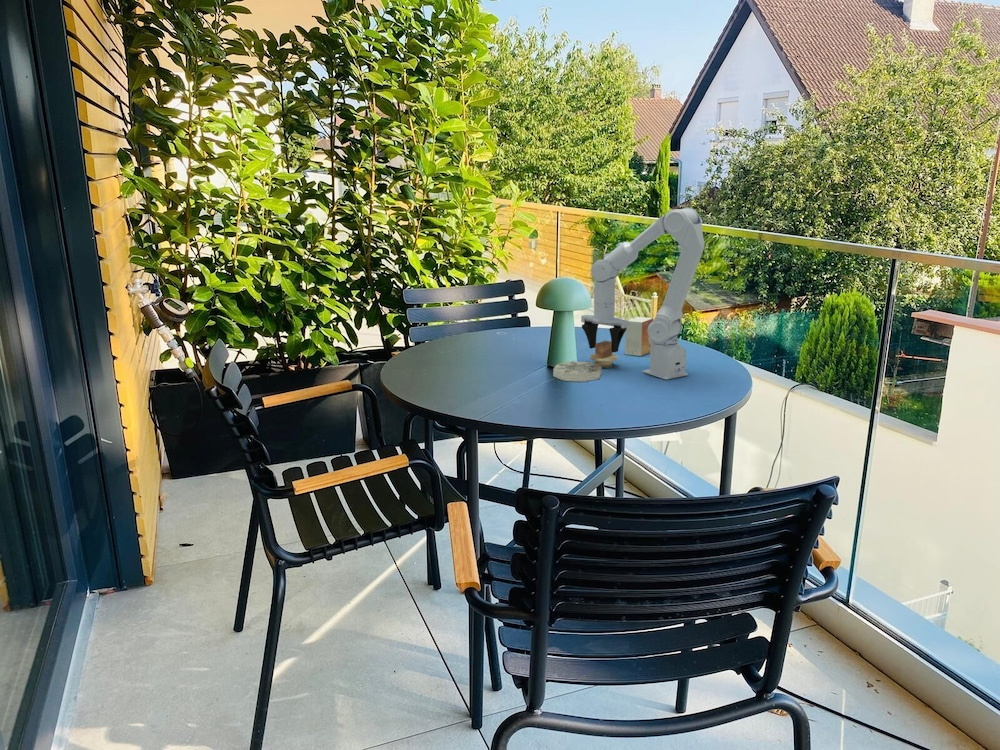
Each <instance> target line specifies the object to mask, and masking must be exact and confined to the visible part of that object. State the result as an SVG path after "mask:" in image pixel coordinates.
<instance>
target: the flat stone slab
mask: <svg viewBox="0 0 1000 750" xmlns="http://www.w3.org/2000/svg"><path fill="white" fill-rule="evenodd" d="M552 370H553V372H552V373H553V374H552V375H553V378H556V379H558V380H561V381H564V382H580V383H584V382H590V381H594V380H599V379H600V378H601V375H602V370H603V368H602V366H600V365H597V364H595V362H594V363H593V362H591V361H575V360H573V361H567V362H562V363H557V364H556V365H555V366H554V367H553V369H552Z"/></svg>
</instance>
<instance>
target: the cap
mask: <svg viewBox="0 0 1000 750" xmlns="http://www.w3.org/2000/svg"><path fill="white" fill-rule="evenodd" d="M594 351H595V352H594V353H593V354H590V355H589V359H590V360H592V361H593V362H594V364H597V365H600V366H602V369H607V368H608V369H609V368H612V367H613V362H614V361H617V360H618V358H619V357H618V355H617V354H614V353H613V352H612V350H611V341H609V340H603V341H599V342H596V344H595V348H594Z"/></svg>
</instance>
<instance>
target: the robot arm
mask: <svg viewBox="0 0 1000 750" xmlns="http://www.w3.org/2000/svg"><path fill="white" fill-rule="evenodd" d="M703 232H704V231H703V220H702V217H701V216H700V214H699V213H698V211H697V210H695V209H694V208H692V207H684V208H680V209H678V208H677V209H670V210H669V211H668V212H667V213H666V214H663V215H662V216H660V217H659V218H658V219H657V220H654V222H653V223H652V224H651V225H649V226H648V227H646V229H645V230H643V231H642V232H641V233H640V234H638V236H636V237H635V238H634V239H633V240H632V241H631V242H630V241H623V242H618V243H617V244H616V245H615V247H616V248H614V249H613V250H612V251H610V252H609V253H605V254H604V255H603V259H599V260H595V261H594V263H593V264H592V266H591V267H590V272H591V273H590V274H591V277H592V278H593V279H594V281H593V282H594V285H593V286H594V287H593V288H594V289H593V293H594V294H593V302H594V303H593V315H591V314H583V315H581V316H580V319H581V320H580V322H581V323H583V324H581V329H583V331H584V334H585V336H586V339H587V342H588V346H589V349H595V344H596V343H597V333H598V327H599V325H603V326H609V327H610V328H609V329H608V330H609V334H610V339H611V350H612V353H617V352H618V351H619V349H620V348H619V347H620V344H621V341H622V338H623V337H624V336H625V331H626V329H627V327H628V320H629V319H627V320H626V319H621V318H619V317H615V314H616V313H615V310H616V309H615V308H616V307H615V303H616V302H615V299H616V298H615V297H616V278H617V277H618V276H619V274H620V272H621V271H623V270H624V269H625V268H627V267H628V266H629V265H631V264H632V263H633V262H635V261H636V260H637V259H638V257H639V256H638V255H639V252H641V250H643V249H645V248H646V247H647V246H648V245H650V244H651V243H652V242H654V241H656V240H657V239H659V238H660V237H661V236H664V235H668V234H669V235H670V236H671V237H672V238H674V239H675V240H676V242H677V243H678V245H679V247H680V248H681V252H680V254H679V256H678V260H677V263H676V265H675V268H674V272H673V274H672V277H671V280H670V282H669V286H668V289H667V291H666V294H665V297H664V300H663V301H662V306H661V307H660V308H659V310H658V311H657V312H656V314H655V317H654V318H653V321H652V322H651V323H650V324H649V326H648V330H647V332H648V336H649V338H650V339H651V348H650V352H649V353H650V355H649V356H650V357H649V368H648V369H644V370H642V373H645V374H648V375H651V376H653V377H657V378H660V379H663V380H666V381H667V380H671V379H676V378H681V377H686V376H688V372H686V371H687V370H686V369H687V350H686V349H685V348H684V346H681V344H680V343H679V338H678V335H679V334H680V333H681V332H682V329H683V327H682V325H683V324H682V319H683V316H684V312H683V308H684V304H685V301H686V299H687V297H688V294H689V291H690V288H691V285H692V283H693V280H694V277H695V274H696V272H697V268H698V266H699V263H700V260H701V258H702V256H703V253H704V250H705V245H706V244H705V239H704V233H703Z"/></svg>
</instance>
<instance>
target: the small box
mask: <svg viewBox="0 0 1000 750" xmlns="http://www.w3.org/2000/svg"><path fill="white" fill-rule="evenodd" d="M627 320H628V327H627V329H626V331H625V333H624V339H625V340H624V354H625V355H628V356H638V357H642V356H644V355H647V354H649V353H650V348H651V339H650V338H649V336H648V332H647V330H648V326H649V324H650V323H651V322H652V321H653V320H654V318H653V317H645V316H636V317H633V318H631V319H627Z"/></svg>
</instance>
